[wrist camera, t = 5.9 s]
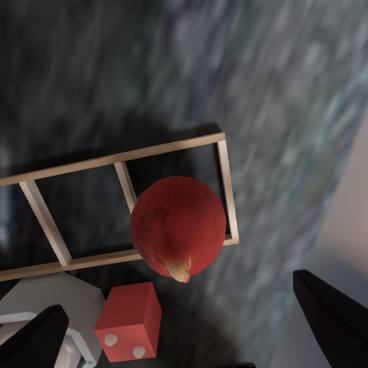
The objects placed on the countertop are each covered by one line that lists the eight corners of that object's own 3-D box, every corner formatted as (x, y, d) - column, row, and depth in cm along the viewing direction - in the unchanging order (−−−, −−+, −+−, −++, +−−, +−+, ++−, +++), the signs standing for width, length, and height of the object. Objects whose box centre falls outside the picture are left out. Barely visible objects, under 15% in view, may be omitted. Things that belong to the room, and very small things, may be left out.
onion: (145, 228, 17) (111, 322, 9) (143, 162, 15) (96, 213, 7) (213, 230, 17) (235, 327, 9) (220, 165, 15) (254, 218, 7)
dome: (102, 344, 20) (67, 437, 14) (36, 352, 20) (-22, 444, 15) (74, 291, 17) (19, 377, 12) (1, 302, 18) (-85, 389, 12)
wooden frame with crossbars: (236, 237, 17) (239, 243, 16) (-3, 276, 19) (-11, 282, 18) (222, 131, 14) (224, 132, 13) (-61, 190, 16) (-73, 194, 15)
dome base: (168, 329, 21) (163, 384, 17) (41, 345, 22) (6, 400, 18) (143, 257, 18) (130, 303, 13) (-3, 281, 19) (-58, 329, 15)
